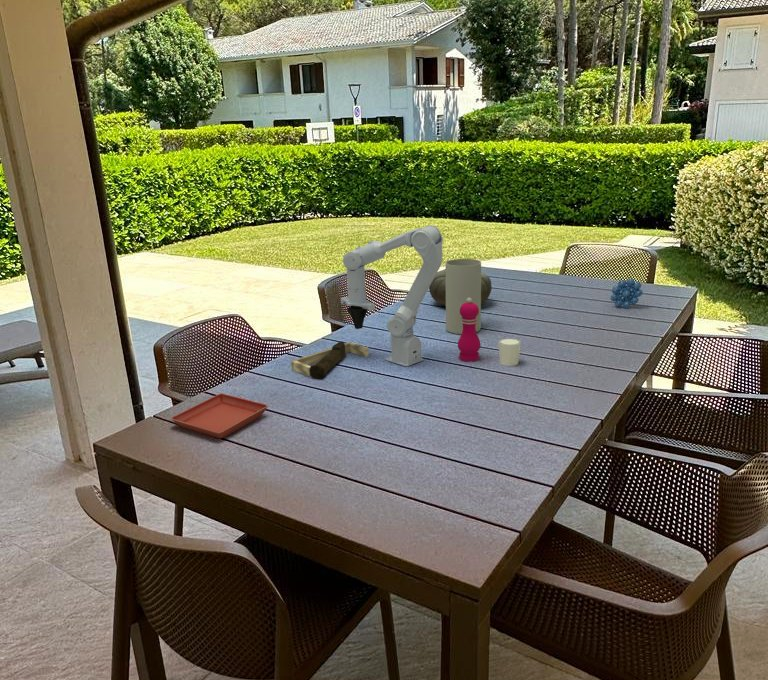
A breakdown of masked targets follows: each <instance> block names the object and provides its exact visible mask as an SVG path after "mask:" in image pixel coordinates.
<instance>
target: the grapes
mask: <svg viewBox="0 0 768 680" xmlns="http://www.w3.org/2000/svg"><path fill="white" fill-rule="evenodd" d="M641 287H642V284H641V282H640V281H639V282H638V281H635V279H634V278H629V279H627V280H624V279H622V280H620V281H618V283H617V285H615V286H613V287H612V288H611V293H612V295H611V296H610V300H611V302H614V306H615V307H616V308H620V307H622V308H624V309H627V308H630V306H631V305H636V304H637V303H639V299H640V297H641V296H642V295H643V294H644V293H643V292H644V291H643V290H642V289H641Z"/></svg>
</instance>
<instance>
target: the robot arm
mask: <svg viewBox="0 0 768 680" xmlns="http://www.w3.org/2000/svg"><path fill="white" fill-rule="evenodd" d="M443 241H444V237H443V234H442V233H441V231H440V229H439V228H438V227H437V226H435V225H432V224H429V225H426V226H425V227H418V228H414V229H410V230H408V231H406V232H402V233H401V234H399V235H397V236H394V237H392V238H389V239H387V240H386V241H383V242H382V241H379V240H374V239H372V240H370V241H368V243H367V244H365V245H363V246H357V247H355V249H353V250H351V251H350V250H349V251H348V252H347V253H345V254H344V255H343V257H342V258H343V259H342V264H343V266H344V267H345V268H346V280H347V281H346V282H347V296H342V297H340V303H341V304H342V305H344V304H345V305H346V306H349V307H347V309H346V310H347V313H349V315H350V317H351V320H352V323H353V325H354V326H353V327H354V328H355V329H356V330H360V329H363V327H364V326H363V325H364V321H365V318H366V315H367V313H368V311H369V312H371V311H375V310H376V306H375V303H373V302H371V301H369V300H367V293H366V292H367V291H366V271H365V267H366V265H369V264H371V263H374V262H377V261H378V260H379V261H380V260H382V259H384V257H385V256H386V253H388V252H390V251H393V250H395V249H397V248H400V247H402V246H403V247H404V246H406V247H409V248H412V247H413V248H414V250H415V251H416V252H417V253H418V255H419V256H420V258H421V260H422V262H423V264H422V265H421V267H420V269H419V271H418V273H417V275H416V277H415V278H414V280H413V282H412V285H411V286H410V288H409V291H408V292H407V294H406V296H405V299H404V300H403V302H402V304H401V305H400V306H399V308H398V309H397V310H396V311H395V313H394V315H393V316H392V317H391V318H389V319H388V320H387V323H386V324H387V325H386V327H387V331H388V333H390V345H391V346H390V347H391V354H390V355H391V356H389V357H387V358H385V360H386V361H388V362H391V363H394V364H397V365H400V366H402V367H403V366H404V367H409V366H412V365H414V364H416V363H417V364H418V363H419V362H422V361H424V358H422V341H421V339H420V338H419V337H417V336H416V335H415V333H414V329H413V328H414V326H415V325H416V323H417V320H416V319H417V315H418V309H419V307H420V305H421V304H422V302H423V299H424V298H425V296H426V294H427V293H428V291H429V287H430V285H431V283H432V281H433V279H434V277H435V275H436V273H437V272H439V271H440V270H439V269H440V268H441V266H442V264H443V259H444V258H443V243H444V242H443Z"/></svg>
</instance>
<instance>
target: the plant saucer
mask: <svg viewBox="0 0 768 680" xmlns="http://www.w3.org/2000/svg"><path fill="white" fill-rule="evenodd" d="M268 407H269V405H268V404H266V403H262V402H257V401H253V400H250V399H245V398H242V397H239V396H238V397H237V396H234V395H230V394H226V393H219V394H217V395H213V396H212V397H210V398H208V399H207V400H203V401H202V402H200V403H198V404H196V405H194V406H191V407H190V408H188V409H185V410H184V411H182V412H179V413H178V414H175V415H173V416H172V417H171V418H170V420H171V421H172V422H173V423H175V424H176V425H178V427H179V426H180V427H181V428H184V429H186V430H190V431H194V432H196V433H201V434H204V435H207V436H210V437H212V438H213V437H214V438H216V439H223V438H225V437H227V436H228V435H230V434H232V433H235V432H236V431H238V430H239V429H241V428H243V427H245V426H246V425H248V424H250V423H251V422H254V421H255V420H257V419H259V418H260V417H261V416H262V415H263V414H264V413H265V411H266V410H267V409H268Z"/></svg>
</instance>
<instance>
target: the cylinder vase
mask: <svg viewBox="0 0 768 680" xmlns="http://www.w3.org/2000/svg"><path fill="white" fill-rule="evenodd" d="M445 269H446V306H445V329H446V330H447V332H448V333H451V334H455V335H461V334H462V331H463V323H462V322H461V318H462V316H461V315H460V307H461V305H462V304H464V303H467V302H466V300H467V298H471V299H472V303H475V304H476V305H477V306H478V308H479V313H478V315H477V316H476V317H477V323H476V333H477V332H480V330H481V323H482V321H481V320H482V317H481V316H482V314H481V313H482V311H481V310H482V304H481V273H482V260H479V259H474V258H455V259H450V260H449V259H448V260H446V261H445Z"/></svg>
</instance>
